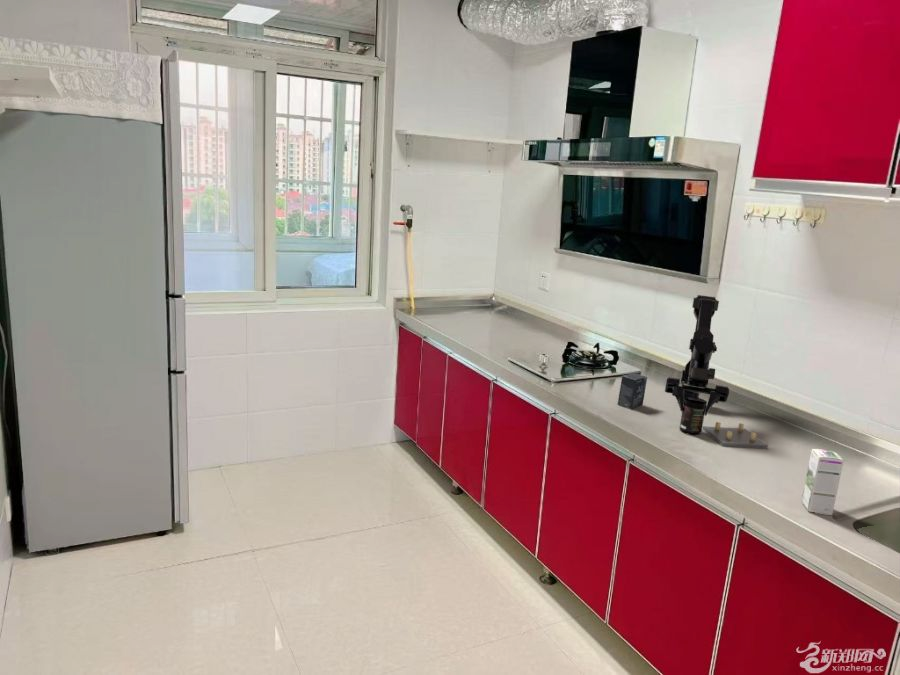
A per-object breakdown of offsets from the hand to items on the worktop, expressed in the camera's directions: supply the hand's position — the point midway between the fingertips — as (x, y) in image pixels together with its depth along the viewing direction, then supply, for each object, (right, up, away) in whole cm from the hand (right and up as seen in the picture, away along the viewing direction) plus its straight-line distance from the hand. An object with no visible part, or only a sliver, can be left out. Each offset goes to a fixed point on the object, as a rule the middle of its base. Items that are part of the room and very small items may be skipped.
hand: (693, 412), depth 215 cm
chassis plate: (+12, -8, 0) cm, 15 cm away
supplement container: (0, -6, +3) cm, 7 cm away
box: (-13, 0, +24) cm, 28 cm away
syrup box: (+14, -19, -45) cm, 51 cm away
